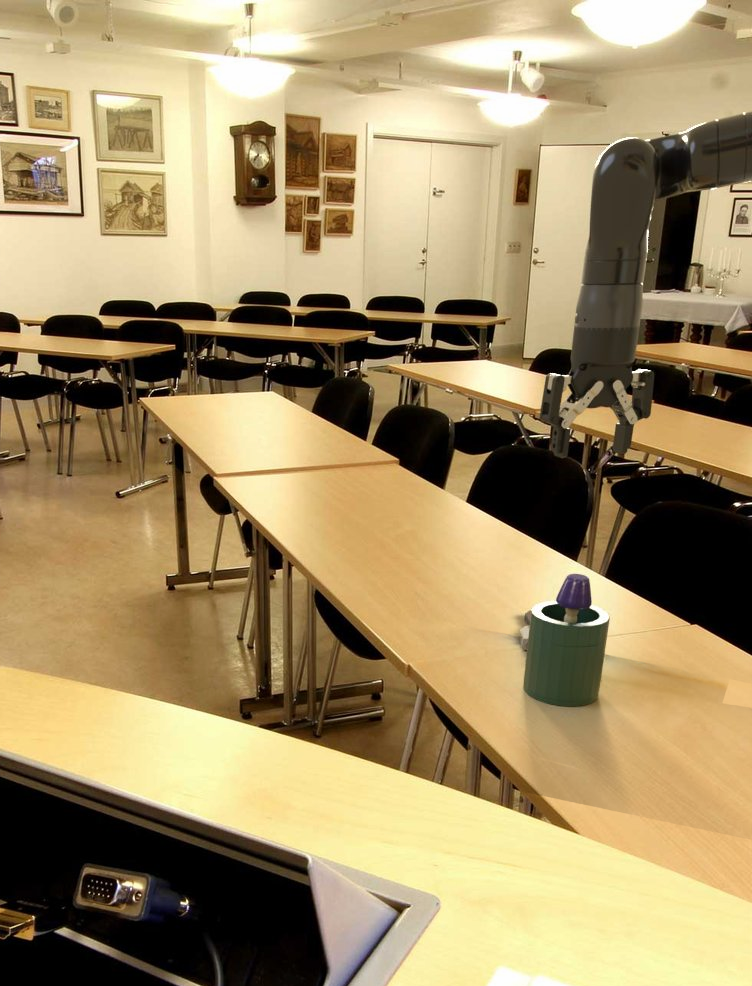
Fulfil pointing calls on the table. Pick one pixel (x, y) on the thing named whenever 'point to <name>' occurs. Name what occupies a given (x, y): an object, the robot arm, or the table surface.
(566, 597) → the toy lamp
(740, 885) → the table surface
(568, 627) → the green cylindrical cup
